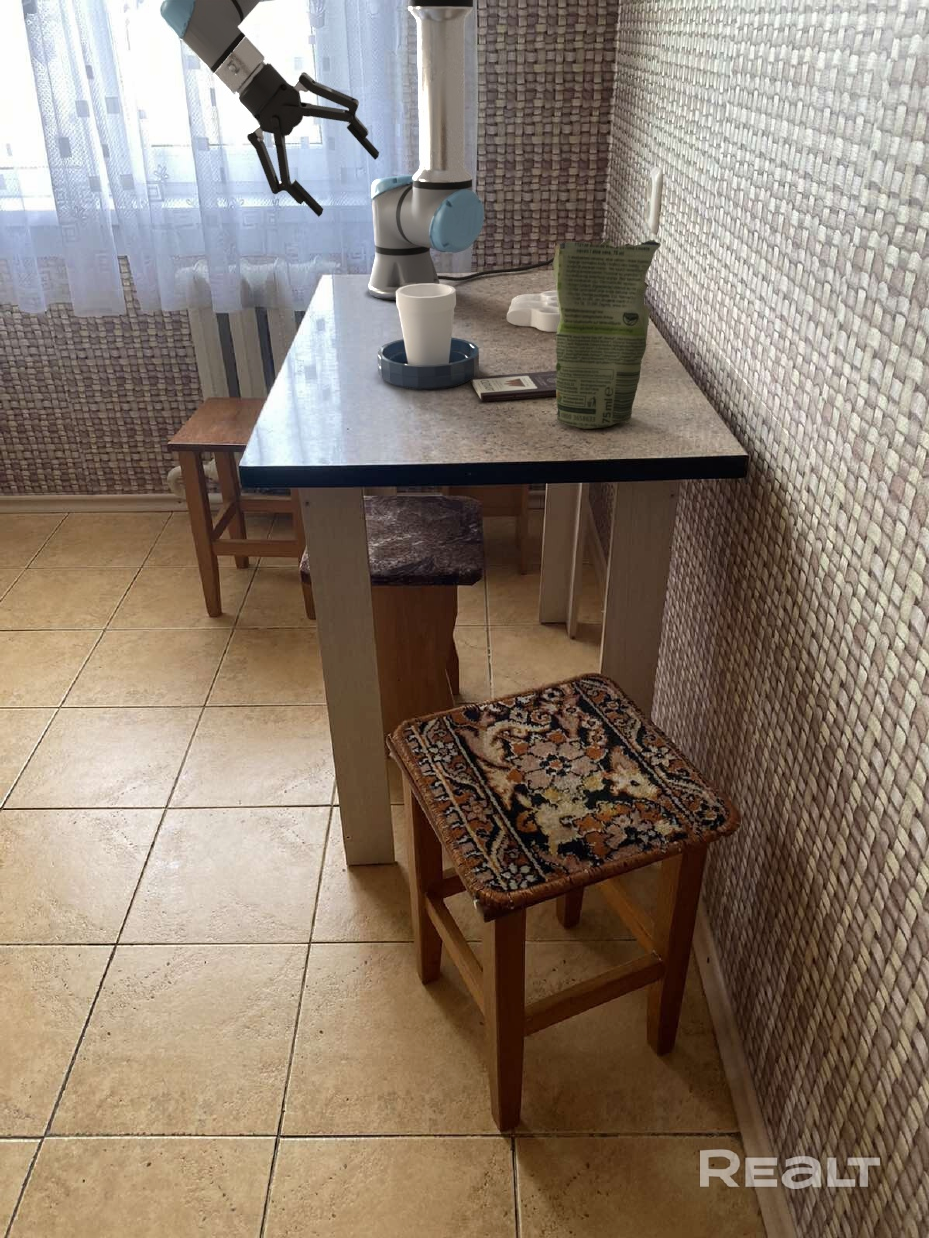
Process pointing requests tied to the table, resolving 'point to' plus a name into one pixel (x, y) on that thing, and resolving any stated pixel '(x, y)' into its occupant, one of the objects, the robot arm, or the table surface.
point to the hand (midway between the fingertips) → (348, 185)
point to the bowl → (428, 366)
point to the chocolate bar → (515, 386)
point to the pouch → (600, 330)
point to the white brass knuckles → (535, 311)
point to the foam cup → (426, 322)
